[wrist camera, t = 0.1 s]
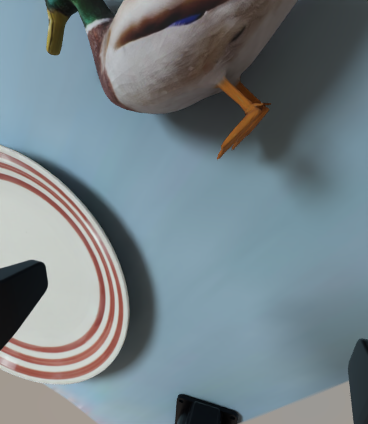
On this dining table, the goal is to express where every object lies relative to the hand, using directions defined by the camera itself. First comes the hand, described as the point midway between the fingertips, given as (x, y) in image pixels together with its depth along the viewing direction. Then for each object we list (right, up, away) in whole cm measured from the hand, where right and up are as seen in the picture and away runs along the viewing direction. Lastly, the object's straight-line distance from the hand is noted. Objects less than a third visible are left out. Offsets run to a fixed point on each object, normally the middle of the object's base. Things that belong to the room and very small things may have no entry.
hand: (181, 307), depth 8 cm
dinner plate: (-17, -3, +24) cm, 29 cm away
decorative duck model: (+1, +15, +10) cm, 18 cm away
